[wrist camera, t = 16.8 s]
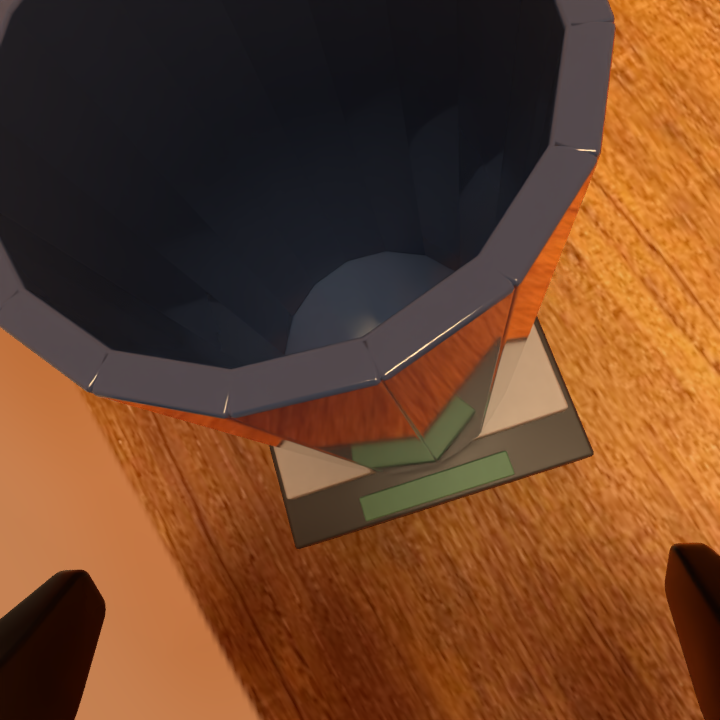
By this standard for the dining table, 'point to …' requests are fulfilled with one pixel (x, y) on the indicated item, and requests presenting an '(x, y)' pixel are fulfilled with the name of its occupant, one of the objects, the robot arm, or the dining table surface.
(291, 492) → the scale
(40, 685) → the robot arm
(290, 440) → the cup
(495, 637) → the dining table surface
